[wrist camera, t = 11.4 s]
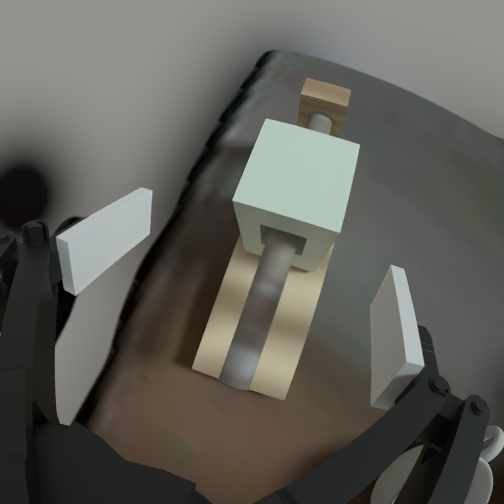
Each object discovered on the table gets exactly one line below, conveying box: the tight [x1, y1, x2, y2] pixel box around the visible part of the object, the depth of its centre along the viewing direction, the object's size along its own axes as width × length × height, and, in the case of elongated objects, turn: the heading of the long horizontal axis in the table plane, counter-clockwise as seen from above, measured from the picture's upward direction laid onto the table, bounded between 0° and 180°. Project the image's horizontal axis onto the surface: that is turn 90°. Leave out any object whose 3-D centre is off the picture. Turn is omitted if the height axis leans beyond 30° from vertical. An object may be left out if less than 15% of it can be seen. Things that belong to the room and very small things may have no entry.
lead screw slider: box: [192, 78, 351, 400], centre depth 24 cm, size 24×8×10 cm, turn 161°
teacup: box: [371, 426, 504, 504], centre depth 18 cm, size 14×11×8 cm
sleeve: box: [232, 119, 360, 273], centre depth 22 cm, size 6×6×10 cm
